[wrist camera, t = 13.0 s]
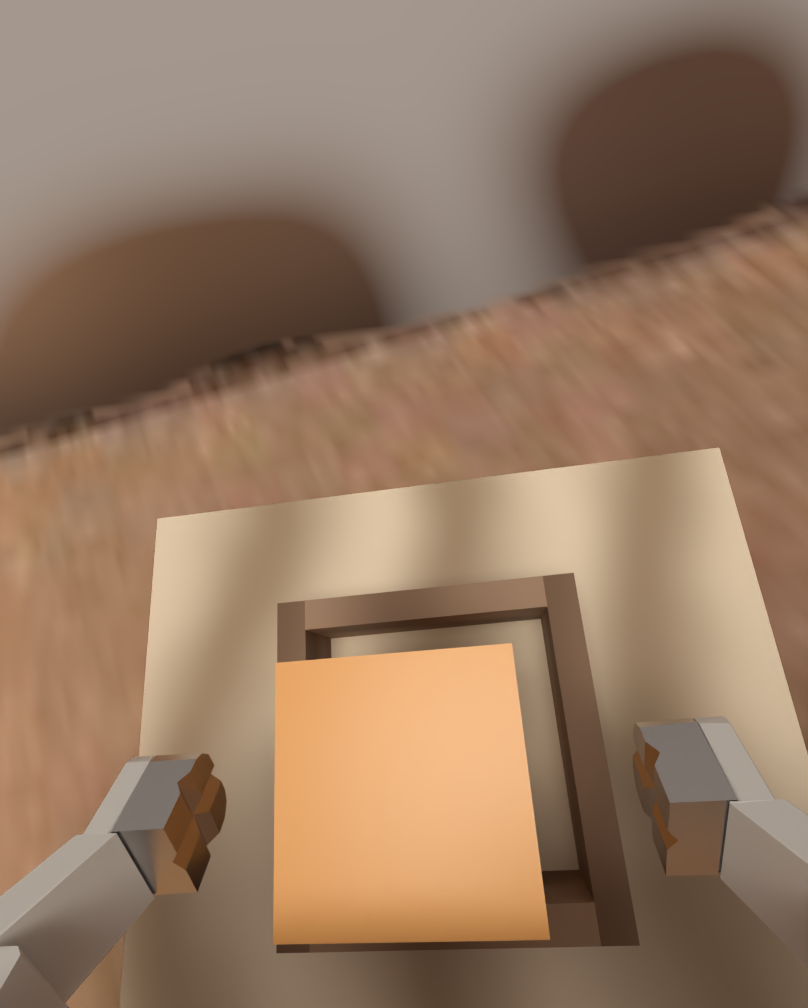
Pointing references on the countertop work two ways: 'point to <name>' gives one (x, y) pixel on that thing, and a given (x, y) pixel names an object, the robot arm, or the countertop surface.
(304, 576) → the socket board
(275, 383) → the countertop surface
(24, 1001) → the robot arm
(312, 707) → the orange cap block
